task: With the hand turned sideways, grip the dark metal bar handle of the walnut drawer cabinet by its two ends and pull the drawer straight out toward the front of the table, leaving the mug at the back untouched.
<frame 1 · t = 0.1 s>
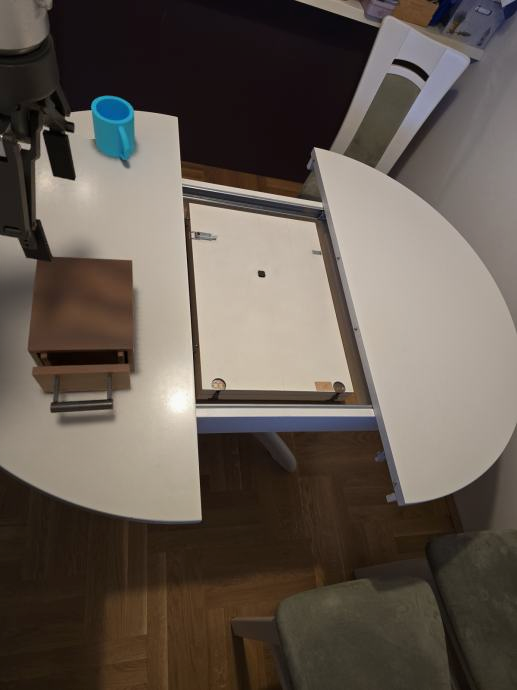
hand: (52, 214, 50), 21 cm above the table, tool pointing down, fingers open, 13 cm apart
cabinet: (91, 330, 67), on the table
drawer: (86, 352, 60), point 5 cm above the table, slide at 2.0 cm
mug: (118, 151, 85), on the table
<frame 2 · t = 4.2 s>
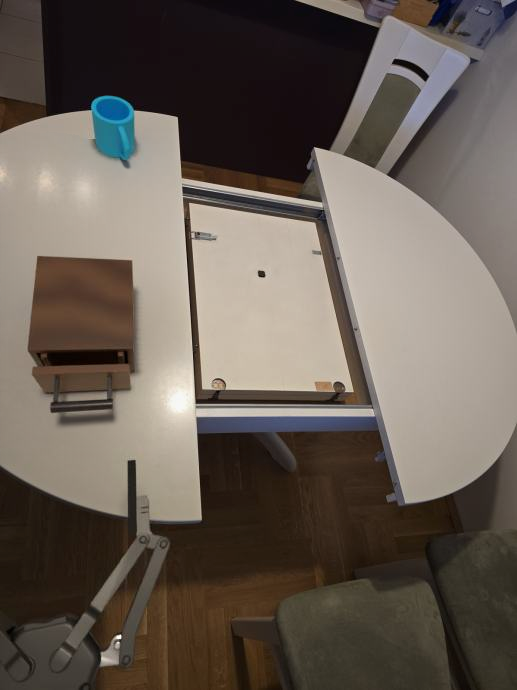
hand: (57, 469, 37), 22 cm above the table, tool horizontal, fingers open, 13 cm apart
nothing on the table moved.
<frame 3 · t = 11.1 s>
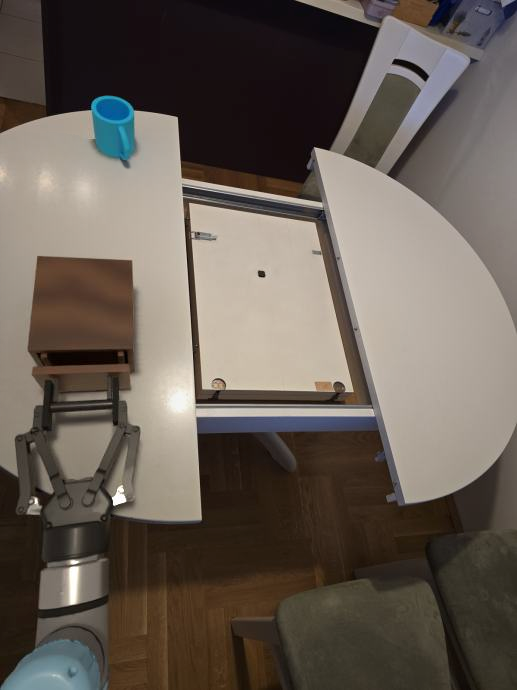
hand: (83, 381, 56), 7 cm above the table, tool horizontal, fingers closed on drawer, 8 cm apart
drawer: (86, 352, 60), point 5 cm above the table, slide at 2.0 cm, touching gripper
everything else where it was.
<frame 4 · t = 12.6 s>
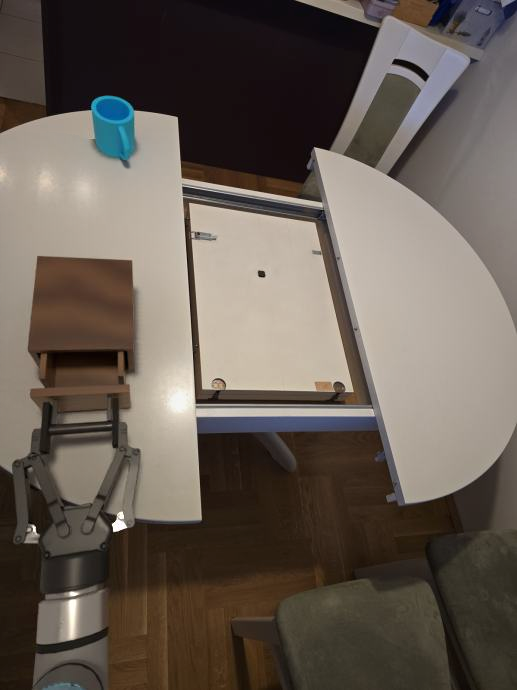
hand: (82, 403, 55), 7 cm above the table, tool horizontal, fingers closed on drawer, 8 cm apart
drawer: (86, 371, 59), point 5 cm above the table, slide at 5.2 cm, touching gripper
everything else where it was.
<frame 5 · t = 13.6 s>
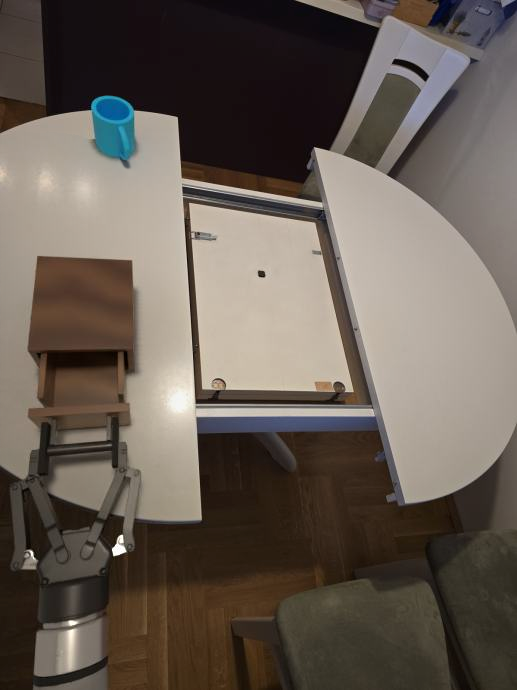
hand: (81, 422, 54), 7 cm above the table, tool horizontal, fingers closed on drawer, 8 cm apart
drawer: (85, 389, 58), point 5 cm above the table, slide at 7.9 cm, touching gripper
everything else where it was.
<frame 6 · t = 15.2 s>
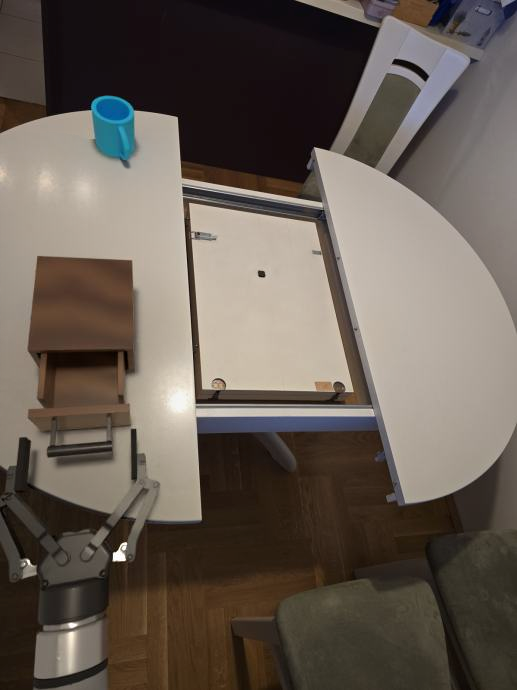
hand: (81, 434, 53), 7 cm above the table, tool horizontal, fingers open, 13 cm apart
drawer: (85, 389, 58), point 5 cm above the table, slide at 8.0 cm
everything else where it was.
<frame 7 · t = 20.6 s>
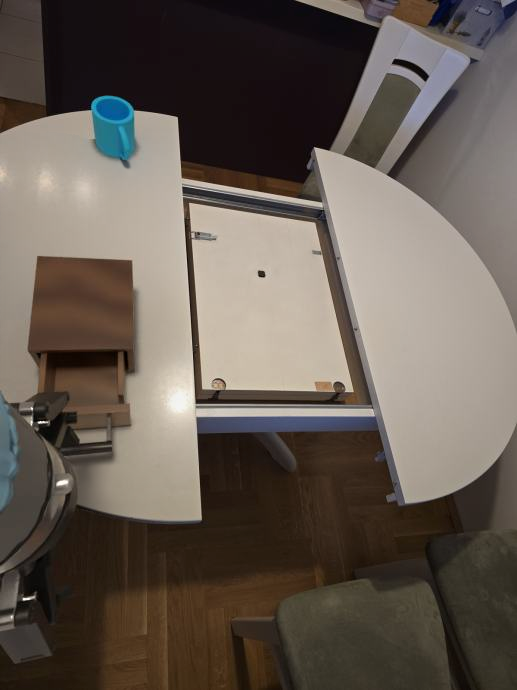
hand: (61, 512, 39), 18 cm above the table, tool pointing down, fingers open, 13 cm apart
nothing on the table moved.
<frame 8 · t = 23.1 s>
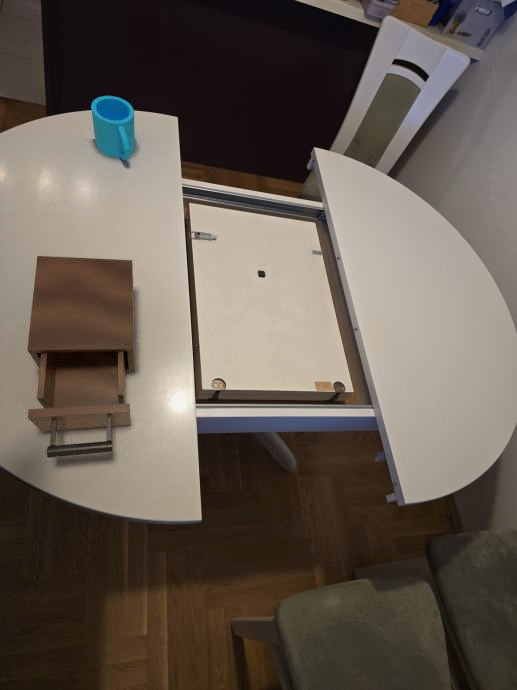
nothing on the table moved.
at the end: drawer slide at 8.0 cm; mug moved 0.2 cm from its start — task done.
